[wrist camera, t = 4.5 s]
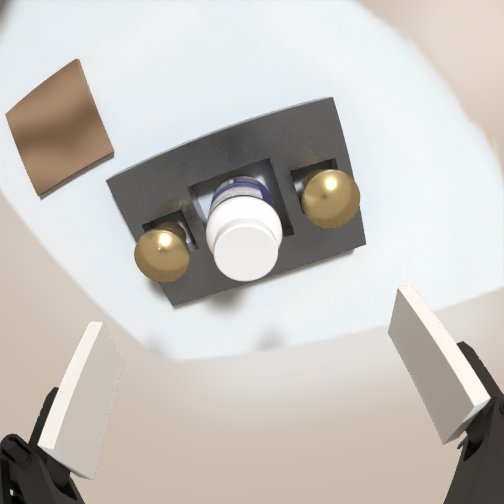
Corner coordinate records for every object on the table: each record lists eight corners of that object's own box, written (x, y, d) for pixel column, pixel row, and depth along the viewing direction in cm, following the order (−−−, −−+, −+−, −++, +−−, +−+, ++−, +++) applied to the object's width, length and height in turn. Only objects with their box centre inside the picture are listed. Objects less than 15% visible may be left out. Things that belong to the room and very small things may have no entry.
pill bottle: (270, 229, 29) (286, 290, 20) (213, 231, 28) (205, 292, 20) (272, 173, 26) (291, 213, 17) (210, 175, 26) (198, 215, 17)
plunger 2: (287, 169, 24) (296, 181, 20) (337, 154, 23) (353, 164, 20) (301, 217, 26) (311, 235, 22) (348, 202, 25) (364, 218, 22)
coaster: (8, 113, 20) (5, 114, 20) (78, 59, 19) (75, 58, 19) (40, 194, 25) (37, 196, 24) (114, 151, 24) (111, 152, 23)
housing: (113, 174, 25) (105, 180, 23) (325, 97, 23) (332, 96, 21) (175, 294, 31) (172, 305, 30) (358, 235, 29) (366, 244, 28)
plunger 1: (138, 224, 25) (124, 243, 22) (182, 206, 25) (174, 224, 21) (159, 264, 27) (150, 288, 24) (202, 250, 27) (197, 272, 23)
